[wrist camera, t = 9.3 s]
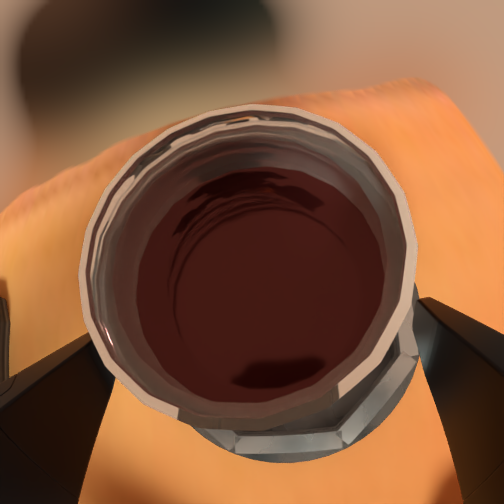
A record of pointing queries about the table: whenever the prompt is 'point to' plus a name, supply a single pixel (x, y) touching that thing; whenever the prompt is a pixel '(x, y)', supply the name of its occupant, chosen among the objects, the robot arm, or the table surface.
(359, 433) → the rosette plate
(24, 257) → the table surface
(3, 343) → the zipper pull
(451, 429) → the robot arm
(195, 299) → the wineglass
